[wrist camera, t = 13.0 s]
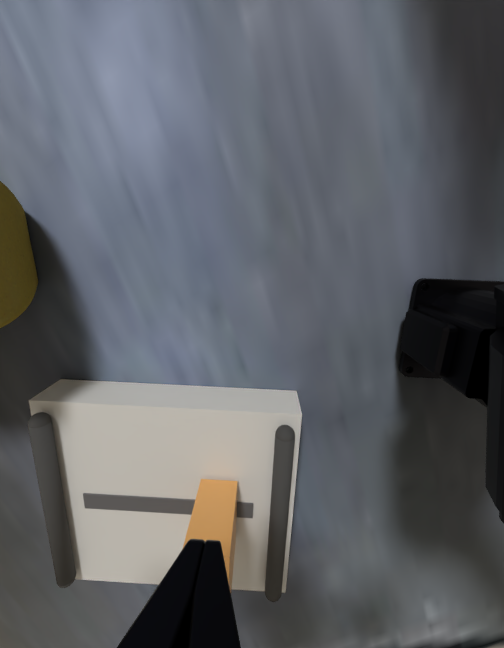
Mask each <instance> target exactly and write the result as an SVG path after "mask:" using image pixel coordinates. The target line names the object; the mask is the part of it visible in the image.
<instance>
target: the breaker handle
mask: <svg viewBox="0 0 504 648" xmlns="http://www.w3.org/2000/svg"><path fill="white" fill-rule="evenodd" d="M237 483H238V481H229V480H211V479H201V480H200V484H199V488H198V492H197V496H196V499H195V503H194V507H193V511H192V515H191V519H190V522H189V526H188V530H187V534H186V538H185V541H184V545H183V548H184V546H185V545H186V543H187V542H188V541H189V540H190V539H203V540H204V541H206V540H219V541H220V542H221V546H222V551H223V556H224V561H225V567H226V572H227V577H228V583H229V588H230V593H231V589H232V578H233V566H234V555H235V544H236V517H237Z"/></svg>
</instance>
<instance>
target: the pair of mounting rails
mask: <svg viewBox="0 0 504 648" xmlns="http://www.w3.org/2000/svg"><path fill="white" fill-rule="evenodd" d="M28 430H29V435H30V441H31V446H32V452H33V457H34V462H35V468H36V473H37V478H38V484H39V489H40V495H41V500H42V505H43V511H44V516H45V522H46V527H47V532H48V538H49V543H50V548H51V554H52V559H53V565H54V570H55V575H56V581H57V584H58V586H59V587H60V588H66V587H68V586H70V585H71V584H72V583H73V581H74V580H75V577H76V568H75V561H74V555H73V549H72V543H71V536H70V530H69V524H68V518H67V511H66V505H65V499H64V493H63V486H62V480H61V474H60V468H59V462H58V455H57V449H56V443H55V437H54V430H53V424H52V418H51V416H50V415H49V414H48V413H45V412H39V413H36V414H34V415H32V416H31V417H30V419H29V420H28ZM294 445H295V432H294V430H293V428H292V427H290V426H289V425H281V426H279V427H278V428H277V430H276V432H275V444H274V459H273V474H272V489H271V504H270V519H269V534H268V549H267V564H266V579H265V594H266V597H267V598H268V600H270V601H272V602H276V601H278V600H279V598H280V597H281V593H282V582H283V571H284V559H285V548H286V536H287V525H288V513H289V502H290V490H291V479H292V468H293V456H294Z"/></svg>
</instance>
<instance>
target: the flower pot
mask: <svg viewBox="0 0 504 648" xmlns="http://www.w3.org/2000/svg"><path fill="white" fill-rule="evenodd" d="M37 285H38V278H37V272H36V267H35V262H34V258H33V253H32V248H31V243H30V237H29V232H28V227H27V221H26V216H25V212H24V210H23V208H22V206H21V204H20V203H19V201H18V200H17V199H16V197H15V196H14V194H13V193H12V192H11V191H10V190H9V189H8V188H7V187H6V186H5V185H4V184H3V183H2V182H1V181H0V328H2V327H4V326H6V325H7V324H9V323H11V322H12V321H14V320H15V319H16V318H17V317H19V316H20V315H21V314H22V313H23V312H24V311H25V310H26V309H27V307H28V306H29V305H30V303H31V302H32V300H33V298H34V295H35V292H36V288H37Z"/></svg>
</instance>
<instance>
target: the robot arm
mask: <svg viewBox="0 0 504 648" xmlns="http://www.w3.org/2000/svg"><path fill="white" fill-rule="evenodd" d="M424 283H425V284H426V288H425V289H424V290H421V286H422V285H423V284H424ZM400 348H401V350H402V354H401V359H400V365H399V370H400V372H401V373H402V374H403V375H404V376H407V377H423V378H442V379H443V380H444V381H446V382H447V383H449V384H450V385H451V386H453V387H454V388H455V389H457V390H458V391H459V392H461V393H462V394H463V395H465V396H466V397H468V398H474V399H476V400H477V401H479V402H480V403H481V404H483V405H484V406H486V407H487V438H486V470H485V473H486V488H487V490H488V492H489V494H490V496H491V498H492V500H493V502H494V504H495V506H496V507H497V509H498V510H499V517H500V519H501V521H502V522H503V523H504V282H501V281H476V280H452V279H427V278H422V279H419V280H417V281H416V282H415V284H414V288H413V293H412V299H411V304H410V310H409V311H408V312H407V313H406V317H405V323H404V328H403V334H402V340H401V345H400ZM409 366H410V369H409V370H408V371H406V368H407V367H409ZM117 648H241V646H240V641H239V635H238V630H237V625H236V620H235V614H234V609H233V604H232V598H231V593H230V588H229V583H228V577H227V572H226V567H225V561H224V556H223V551H222V546H221V542H220V541H219V540H206V541H204V540H203V539H190V540H189V541H188V542H187V543H186V545H185V546H184V548H183V549H182V551H181V552H180V554H179V555H178V557H177V558H176V560H175V561H174V563H173V564H172V566H171V567H170V569H169V570H168V572H167V573H166V575H165V576H164V578H163V579H162V581H161V582H160V584H159V585H158V587H157V588H156V590H155V591H154V593H153V594H152V596H151V597H150V599H149V600H148V602H147V603H146V605H145V606H144V608H143V609H142V611H141V612H140V614H139V615H138V617H137V618H136V620H135V621H134V623H133V624H132V626H131V627H130V629H129V630H128V632H127V633H126V635H125V636H124V638H123V639H122V641H121V642H120V644H119V645H118V647H117Z"/></svg>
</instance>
